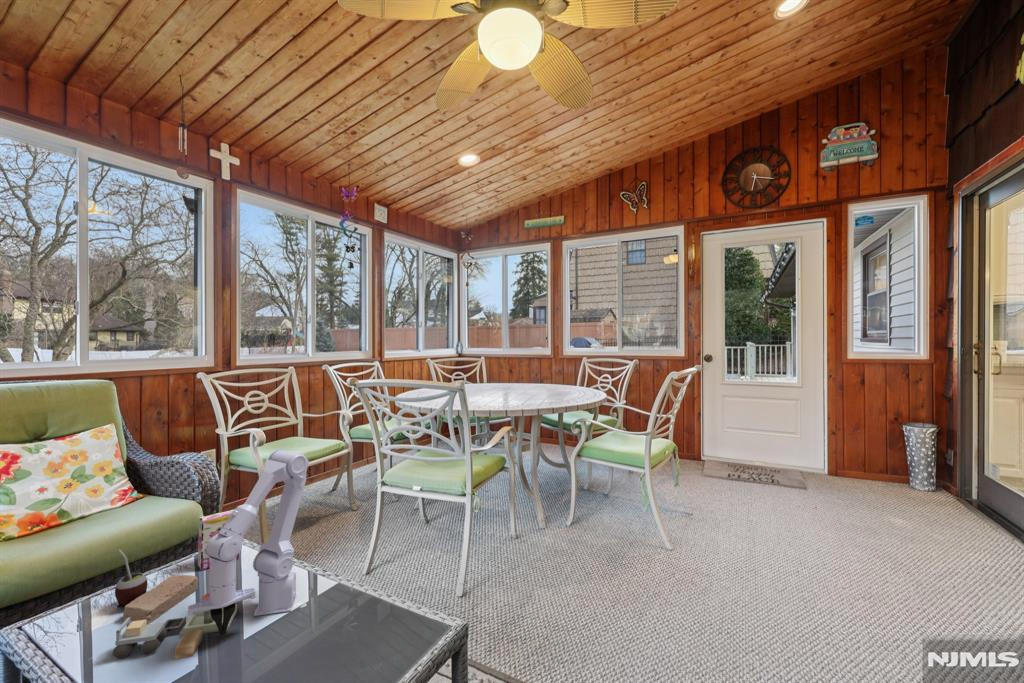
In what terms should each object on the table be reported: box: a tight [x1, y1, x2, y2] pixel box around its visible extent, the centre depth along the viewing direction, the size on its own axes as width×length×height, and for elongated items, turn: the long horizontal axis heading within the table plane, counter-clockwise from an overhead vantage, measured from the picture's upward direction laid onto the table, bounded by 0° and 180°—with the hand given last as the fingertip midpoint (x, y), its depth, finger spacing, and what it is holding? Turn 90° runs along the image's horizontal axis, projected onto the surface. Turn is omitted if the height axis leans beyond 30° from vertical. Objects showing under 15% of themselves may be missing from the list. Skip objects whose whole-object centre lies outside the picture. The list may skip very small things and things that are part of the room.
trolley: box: [112, 617, 167, 660], centre depth 110 cm, size 9×5×7 cm, turn 106°
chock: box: [174, 630, 203, 660], centre depth 110 cm, size 4×6×3 cm, turn 17°
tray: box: [182, 603, 238, 637], centre depth 119 cm, size 10×8×2 cm
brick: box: [122, 574, 199, 625], centre depth 127 cm, size 17×8×5 cm, turn 174°
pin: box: [201, 592, 214, 624], centre depth 119 cm, size 3×3×7 cm
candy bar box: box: [197, 508, 240, 571], centre depth 150 cm, size 11×5×16 cm, turn 136°
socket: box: [164, 616, 187, 637], centre depth 117 cm, size 4×4×2 cm
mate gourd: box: [114, 549, 148, 609], centre depth 126 cm, size 8×8×15 cm
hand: (222, 633), depth 115 cm, fingers closed
